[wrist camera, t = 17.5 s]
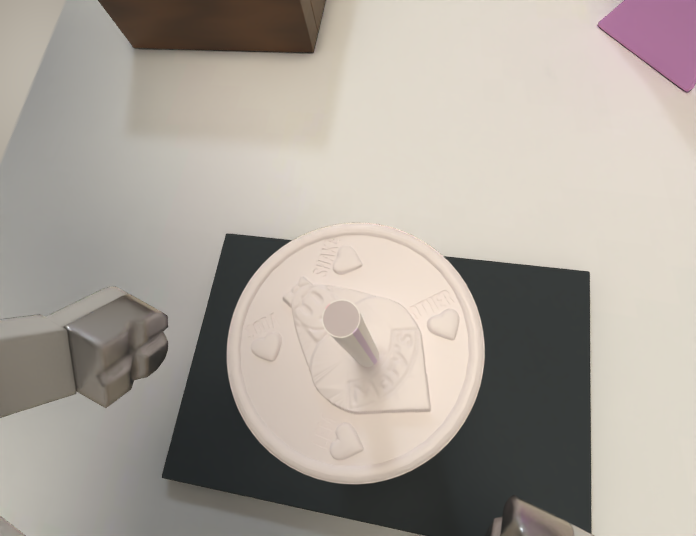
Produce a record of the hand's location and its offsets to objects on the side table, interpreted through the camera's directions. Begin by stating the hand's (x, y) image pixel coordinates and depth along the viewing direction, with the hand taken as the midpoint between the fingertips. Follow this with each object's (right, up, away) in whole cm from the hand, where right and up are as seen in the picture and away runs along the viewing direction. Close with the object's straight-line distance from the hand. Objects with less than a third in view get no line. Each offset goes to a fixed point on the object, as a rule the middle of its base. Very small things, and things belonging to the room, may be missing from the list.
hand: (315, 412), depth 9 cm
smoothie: (+2, -2, +10) cm, 11 cm away
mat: (+2, -2, +11) cm, 11 cm away
